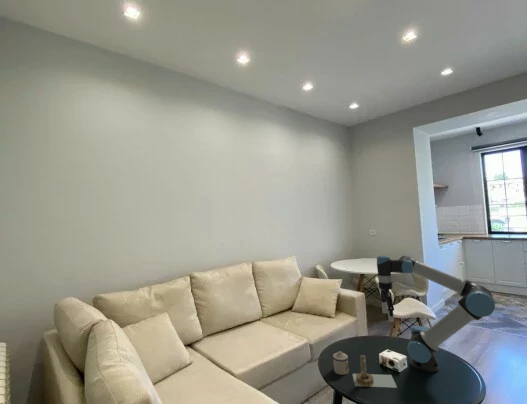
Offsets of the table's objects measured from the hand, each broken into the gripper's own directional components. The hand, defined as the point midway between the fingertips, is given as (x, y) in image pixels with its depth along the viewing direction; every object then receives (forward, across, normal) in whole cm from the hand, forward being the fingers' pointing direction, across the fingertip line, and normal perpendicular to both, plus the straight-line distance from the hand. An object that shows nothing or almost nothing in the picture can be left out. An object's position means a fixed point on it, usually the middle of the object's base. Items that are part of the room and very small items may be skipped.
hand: (388, 317), depth 174 cm
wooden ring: (+31, +13, -19) cm, 38 cm away
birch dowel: (+31, +13, -19) cm, 39 cm away
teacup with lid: (+31, +1, -30) cm, 44 cm away
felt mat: (+31, +12, -14) cm, 36 cm away
